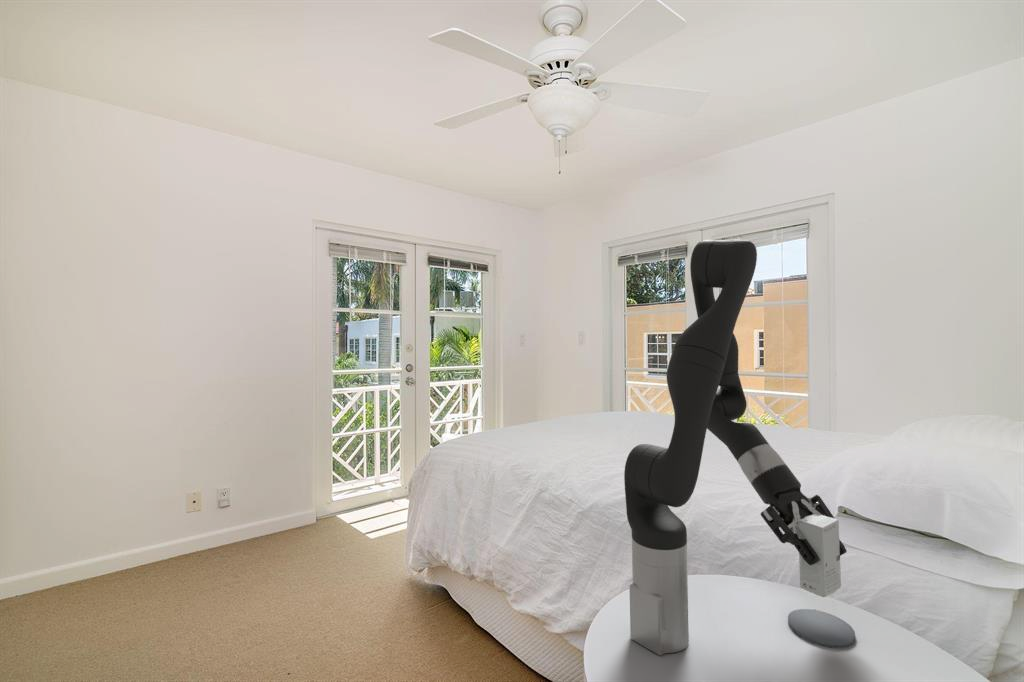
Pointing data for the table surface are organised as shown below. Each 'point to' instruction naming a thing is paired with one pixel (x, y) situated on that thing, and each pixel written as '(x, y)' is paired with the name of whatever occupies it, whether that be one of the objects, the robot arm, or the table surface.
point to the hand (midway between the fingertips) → (828, 558)
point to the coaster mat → (821, 628)
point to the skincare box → (821, 555)
